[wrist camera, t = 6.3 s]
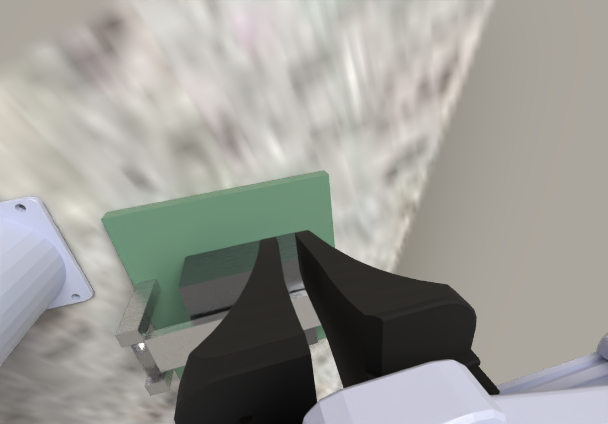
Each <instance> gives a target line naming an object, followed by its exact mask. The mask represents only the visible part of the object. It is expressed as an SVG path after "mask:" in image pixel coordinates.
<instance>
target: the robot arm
mask: <svg viewBox="0 0 608 424" xmlns="http://www.w3.org/2000/svg"><path fill="white" fill-rule="evenodd" d="M19 204H22V205H24V206H25V207H26V209H22V208H21V207H20V206H19ZM295 240H296V247H297V255H298V263H299V270H300V274H301V277H302V281H303V284H304V287H305V290H306V292H307V295H308V297H309V299H310V301H311V303H312V306H313V308H314V310H315V312H316V314H317V317H318V319H319V321H320V323H321V325H322V328H323V330H324V332H325V335H326V337H327V339H328V342H329V345H330V348H331V351H332V354H333V357H334V360H335V363H336V366H337V369H338V372H339V375H340V378H341V381H342V384H343V388H344V389H340V390H338V391H336V392H334V393H332V394H330V395H328V396H326V397H324V398H322V399H320V400H319V401H318V402H317V398H316V390H315V382H314V375H313V367H312V359H311V353H310V348H309V345H308V342H307V339H306V335H305V332H304V330H303V328H302V326H301V324H300V321H299V319H298V316H297V314H296V312H295V309H294V306H293V304H292V301H291V298H290V295H289V292H288V290H287V287H286V283H285V280H284V274H283V268H282V262H281V256H280V250H279V243H278V241H277V238H276V237H271V238H266V239H261V241H260V242H259V250H258V255H257V258H256V261H255V264H254V267H253V270H252V272H251V274H250V277H249V279H248V281H247V283H246V285H245V287H244V289H243V291H242V293H241V294H240V296H239V298H238V299H237V301H236V302H235V304H234V305H233V307H232V308H231V310H230V311H229V313H228V314H227V315H226V316H225V318H224V319H223V320H222V321H221V322H220V324H219V325H218V326H217V327H216V328H215V329H214V330H213V332H212V333H211V334H210V335H209V336H208V337H206V338H205V339H204V340H203V341H202V342H201V343H200V344H199V345H198V346H197V347H196V348H195V349H194V350H193V351H191V352H190V354H189V356H188V359H187V362H186V365H185V368H184V371H183V374H182V378H181V381H180V385H179V390H178V396H177V403H176V410H175V416H174V420H175V424H608V333H607V334H605V335H604V336H603V338H602V339H601V340H600V342H599V344H598V347H597V352H594V353H591V354H588V355H585V356H582V357H579V358H577V359H573V360H571V361H568V362H565V363H562V364H559V365H556V366H553V367H550V368H547V369H544V370H541V371H538V372H535V373H533V374H529V375H527V376H523V377H521V378H518V379H515V380H512V381H509V382H506V383H503V384H500V385H497V386H495V385H494V384H493V382H492V381H491V380H490V379H489V378H488V377H487V376H486V374H485V373H484V372H483V371H482V370H481V369H480V367H479V365H480V360H479V358H478V357H477V356H476V355H475V354H474V352H473V351H472V350H471V346H472V342H473V337H474V333H475V328H476V314H475V311H474V309H473V308H472V307H471V306H470V305H469V303H467V302H466V301H465V300H464V299H463V298H462V297H461V296H460V295H459V294H458V293H457V292H456V291H455V290H453V289H452V288H451V287H450V286H449V285H447V284H440V283H433V282H427V281H420V280H416V279H411V278H407V277H403V276H399V275H395V274H392V273H389V272H386V271H383V270H380V269H377V268H374V267H371V266H369V265H367V264H364V263H362V262H360V261H357V260H355V259H353V258H351V257H349V256H348V255H346V254H344V253H342V252H340V251H339V250H337V249H335V248H334V247H332V246H331V245H329V244H328V243H326V242H325V241H323V240H322V239H321V238H319V237H318V236H316V235H315V234H314V233H312V232H311V231H309V230H305V231H300V232H295ZM93 293H94V292H93V289H92V288H91V286H90V284H89V282H88V281H87V279H86V277H85V275H84V274H83V272H82V270H81V268H80V267H79V265H78V263H77V262H76V260H75V258H74V256H73V255H72V253H71V251H70V249H69V248H68V246H67V244H66V243H65V241H64V239H63V237H62V236H61V234H60V232H59V230H58V229H57V227H56V225H55V223H54V222H53V220H52V218H51V217H50V215H49V213H48V211H47V210H46V208H45V206H44V204H43V203H42V201H41V200H40V199H38V198H36V197H24V198H18V199H13V200H7V201H1V202H0V366H1V365H2V363H3V362H4V361H5V360H6V358H7V357H8V356H9V354H10V353H11V352H12V351H13V349H14V348H15V347H16V346H17V344H18V343H19V342H20V341H21V339H22V338H23V337H24V336H25V334H26V333H27V332H28V331H29V329H30V328H31V327H32V326H33V324H34V323H35V322H36V320H37V319H38V318H39V317H40V315H41V314H42V313H43V312H44V310H47V309H52V308H56V307H60V306H64V305H69V304H73V303H77V302H81V301H86V300H89V299H90V298H91V297H92V296H93ZM74 294H77V295H79V296H76V295H74Z"/></svg>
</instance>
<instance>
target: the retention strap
mask: <svg viewBox="0 0 608 424" xmlns="http://www.w3.org/2000/svg"><path fill="white" fill-rule="evenodd" d="M289 295H290V298H291V301H292V304H293V306H294V309H295V312H296V314H297V316H298V319H299V321H300V324H301V326H302V328H303V330H306V329H309V328H312V327H316V326H319V325H321V323H320V321H319V319H318V317H317V314H316V312H315V310H314V308H313V306H312V303H311V301H310V299H309V297H308V295H307V292H306V290H302V291H298V292H294V293H291V294H289ZM229 311H230V310H228V311H225V312H221V313H217V314H214V315H210V316H206V317H203V318H199V319H195V320H192V321H188V322H184V323H181V324H177V325H173V326H170V327H166V328H162V329H159V330H155V331H151V332H148V333H147V334H146V337H145V340H144V342H141V343H137V344H133V345H130V346H131V347H132V349H133V351H134V353H135V355H136V356H137V358H138V360H139V362H140V363H141V365H142V367H143V369H144V370H145V372H146V374H147V376H148V377H150V378H153V377H156V376H158V375H159V374H160V373H161V372H165V371H168V370H171V369H175V368H178V367H181V366H185V365H186V362H187V359H188V356H189V354H190V352H191V351H193V350H194V349H195V348H196V347H197V346H198V345H199V344H200V343H201V342H202V341H203V340H204V339H205V338H206V337H208V336H209V335H210V334H211V333H212V332H213V330H214V329H215V328H216V327H217V326H218V325H219V324H220V322H221V321H222V320H223V319H224V318H225V316H226V315H227V314H228V313H229Z"/></svg>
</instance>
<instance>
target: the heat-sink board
mask: <svg viewBox="0 0 608 424" xmlns="http://www.w3.org/2000/svg"><path fill="white" fill-rule="evenodd" d="M101 220H102V222H103V224H104V226H105V228H106V230H107V232H108V234H109V236H110V238H111V240H112V243H113V245H114V247H115V249H116V251H117V253H118V255H119V257H120V259H121V261H122V263H123V265H124V267H125V269H126V271H127V273H128V275H129V277H130V279H131V281H132V283H133V285H134V287H135V291H134V294H133V296H132V298H131V300H130V303H129V305H128V307H127V309H126V312H125V314H124V316H123V318H122V321H121V323H120V325H119V327H118V330H117V332H116V334H115V336H116V338H117V340H118V341H119V343H120V345H121V347H126V346H129V345H133V344H137V343H141V342H144V340H145V337H146V334H147V331H148V327H149V324H150V321H151V322H152V324H153V326H154V328H155V330H159V329H162V328H166V327H170V326H173V325H177V324H181V323H184V322H188V321H192V320H195V319H199V318H203V317H206V316H210V315H214V314H217V313H221V312H225V311H228V310H231V308H232V307H233V305H234V304H235V302H236V301H237V299H238V298H239V296H240V294H241V293H242V291H243V289H244V287H245V285H246V283H247V281H248V279H249V277H250V274H251V272H252V270H253V267H254V264H255V261H256V258H257V255H258V250H259V242H260V241H261V239H266V238H271V237H276V238H277V241H278V243H279V250H280V256H281V262H282V268H283V274H284V280H285V283H286V287H287V290H288V292H289V294H291V293H294V292H298V291H302V290H305V287H304V284H303V281H302V277H301V274H300V270H299V263H298V255H297V247H296V240H295V232H300V231H305V230H309V231H311V232H312V233H314V234H315V235H316V236H318V237H319V238H321V239H322V240H323V241H325V242H326V243H328V244H329V245H331V246H332V247H334V248H335V244H334V232H333V220H332V209H331V197H330V185H329V174H328V173H327V172H325V171H319V172H314V173H309V174H304V175H299V176H293V177H288V178H283V179H278V180H273V181H268V182H262V183H257V184H252V185H247V186H242V187H236V188H231V189H226V190H221V191H216V192H210V193H205V194H200V195H195V196H190V197H184V198H179V199H174V200H169V201H164V202H158V203H153V204H148V205H143V206H138V207H133V208H127V209H122V210H117V211H112V212H107V213H106V214H105V215H104V216H103V217H102V218H101ZM304 332H305V335H306V339H307V342H308V345H311V344H315V343H318V340H319V339H323V338H326V335H325V332H324V330H323V328H322V325H319V326H316V327H312V328H309V329H306V330H304ZM184 368H185V366H181V367H178V368H175V371H176V373H177V375H178V377H179V379H181V378H182V374H183V371H184ZM172 374H173V369H171V370H168V371H165V372H161V373H160V374H159V375H158V376H156V377H153V378H150V377H148V376H147V379H146V383H145V387H146V389H147V391H148V393H149V394H150V396H151V395H154V394H158V393H161V392H164V391H168V390H170V385H171V379H172Z"/></svg>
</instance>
